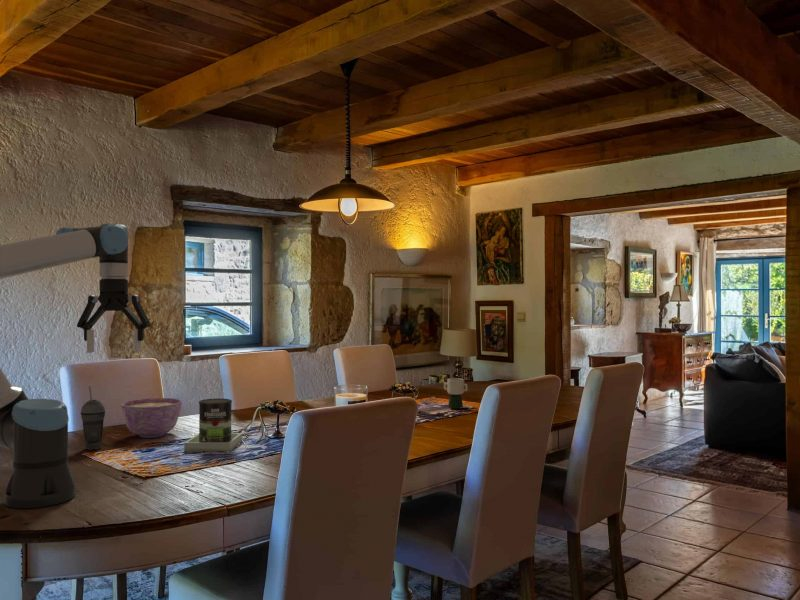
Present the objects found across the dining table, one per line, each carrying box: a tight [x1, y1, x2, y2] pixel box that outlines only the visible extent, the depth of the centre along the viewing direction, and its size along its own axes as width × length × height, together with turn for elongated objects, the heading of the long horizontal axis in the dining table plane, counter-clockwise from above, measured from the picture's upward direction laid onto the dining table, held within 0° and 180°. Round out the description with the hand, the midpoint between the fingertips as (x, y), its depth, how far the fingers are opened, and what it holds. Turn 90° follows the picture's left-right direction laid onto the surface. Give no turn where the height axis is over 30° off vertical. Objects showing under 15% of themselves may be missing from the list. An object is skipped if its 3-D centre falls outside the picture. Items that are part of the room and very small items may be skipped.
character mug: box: [443, 377, 468, 410], centre depth 283 cm, size 11×7×13 cm, turn 65°
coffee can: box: [198, 397, 233, 442], centre depth 213 cm, size 10×10×14 cm
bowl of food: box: [120, 397, 183, 439], centre depth 230 cm, size 20×20×12 cm
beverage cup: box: [80, 385, 106, 451], centre depth 210 cm, size 7×7×20 cm
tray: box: [183, 432, 243, 453], centre depth 213 cm, size 14×14×3 cm
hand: (114, 352), depth 187 cm, fingers open, 13 cm apart
